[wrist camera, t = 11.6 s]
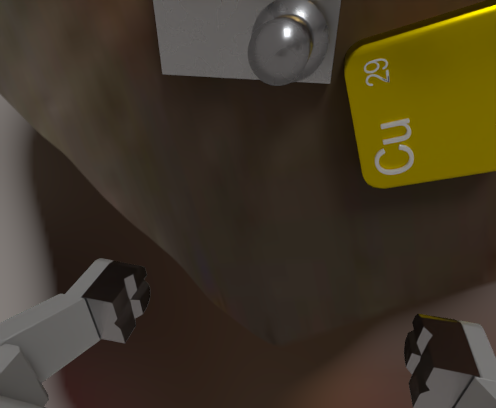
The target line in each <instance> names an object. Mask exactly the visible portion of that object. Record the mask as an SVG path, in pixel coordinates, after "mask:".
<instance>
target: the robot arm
mask: <svg viewBox="0 0 496 408" xmlns="http://www.w3.org/2000/svg"><path fill="white" fill-rule="evenodd" d="M146 276H147V273H146V269H145V267H142V266H139V265H134V264H128V263H124V262H119V261H113V260H108V259H102V258H100V259H98V260H96V261H95V262H94V263H93V264H92V265H91V266H90V267H89V268H88V269H87V271H86V272H85V273H84V274H83V275H82V276H81V277H80V278H79V279H78V281H77V282H76V283H75V284H74V285H73V286H72V287H71V288H70V289H69V291H68V292H67V293H66V294H59V295H57V296H55V297H53V298H51V299H48V300H46V301H44V302H42V303H40V304H38V305H36V306H34V307H32V308H30V309H28V310H26V311H24V312H21V313H20V314H17V315H15V316H13V317H11V318H9V319H7V320H5V321H3V322H1V323H0V408H45V407H44V406H45V404H46V403H47V401H48V400H49V399H48V394H47V392H46V390H45V389H44V387H43V385H42V384H41V383H42V382H43V381H45V380H46V379H48V378H49V377H50V376H52V375H53V374H54V373H56V372H57V371H58V370H60V369H61V368H63V367H64V366H65V365H67V364H68V363H69V362H71V361H72V360H73V359H75V358H76V357H77V356H79V355H80V354H82V353H83V352H84V351H86V350H87V349H88V348H90V347H91V346H92V345H94V344H95V343H97V342H98V341H99V340H100V339H105V340H111V341H116V342H121V343H126V341H127V339H128V338H129V336H130V334H131V333H132V331H133V329H134V328H135V326H136V322H135V318H137V317H139V316H140V315H142V314H143V313H144V311H145V310H146V308H147V306H148V303H149V299H150V287H149V284H148V283H147V282H146V281H145V280H144V278H145V277H146ZM413 327H414V330H413V331H411V332H409V333H408V335H407V337H406V340H405V348H404V357H405V364H406V367H407V369H408V370H409V371H410V372H411V374H412V376H411V379H410V381H409V388H410V393H411V399H412V404H413V408H496V357H495V355H494V352H493V350H492V348H491V345H490V343H489V341H488V338H487V336H486V334H485V331H484V329H483V327H482V326H481V325H480V324H476V323H470V322H465V321H457V320H454V319H448V318H441V317H435V316H428V315H423V314H417V315H416V316H415V318H414V320H413Z"/></svg>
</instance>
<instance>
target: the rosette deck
mask: <svg viewBox="0 0 496 408" xmlns="http://www.w3.org/2000/svg"><path fill="white" fill-rule="evenodd" d="M153 4H154V11H155V19H156V27H157V35H158V43H159V50H160V58H161V66H162V74H166V75H184V76H202V77H219V78H237V79H255V80H261V81H263V82H264V83H267V84H269V85H274V86H281V85H286V84H289V83H292V82H308V83H326V84H330V81H331V73H332V65H333V58H334V50H335V42H336V35H337V27H338V20H339V12H340V4H341V0H153Z"/></svg>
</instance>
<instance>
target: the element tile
mask: <svg viewBox="0 0 496 408" xmlns="http://www.w3.org/2000/svg"><path fill="white" fill-rule="evenodd" d="M344 77H345V83H346V88H347V94H348V99H349V105H350V110H351V116H352V121H353V127H354V132H355V138H356V143H357V149H358V154H359V160H360V165H361V171H362V175H363V178H364V180H365V181H366V182H367V184H368V185H370V186H372V187H374V188H380V189H386V188H392V187H399V186H405V185H411V184H418V183H424V182H430V181H436V180H443V179H449V178H455V177H462V176H468V175H474V174H481V173H487V172H493V171H496V0H486V1H483V2H480V3H477V4H474V5H470V6H467V7H464V8H461V9H458V10H454V11H451V12H448V13H445V14H442V15H438V16H435V17H432V18H429V19H426V20H422V21H419V22H416V23H413V24H410V25H406V26H403V27H400V28H397V29H394V30H390V31H387V32H384V33H381V34H378V35H374V36H371V37H368V38H365V39H362V40H360V41H358V42H356V43H355V44H354V45H352V46H351V47H350V48H349V50H348V51H347V53H346V55H345V60H344Z"/></svg>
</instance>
